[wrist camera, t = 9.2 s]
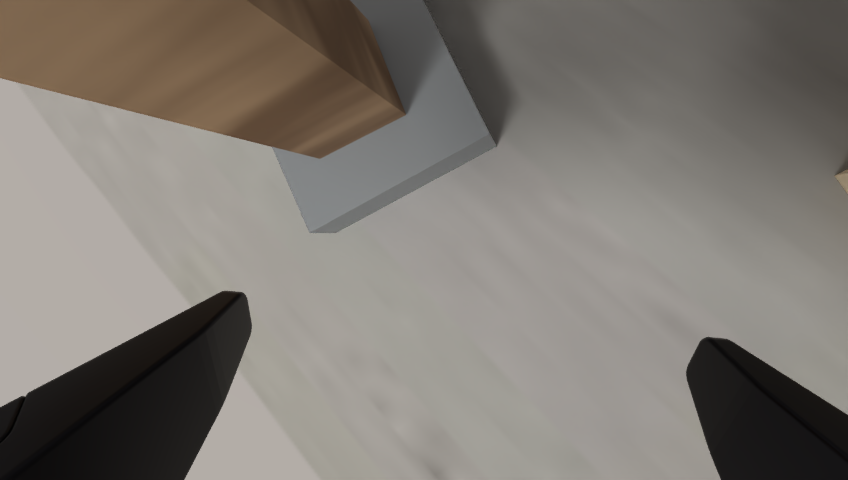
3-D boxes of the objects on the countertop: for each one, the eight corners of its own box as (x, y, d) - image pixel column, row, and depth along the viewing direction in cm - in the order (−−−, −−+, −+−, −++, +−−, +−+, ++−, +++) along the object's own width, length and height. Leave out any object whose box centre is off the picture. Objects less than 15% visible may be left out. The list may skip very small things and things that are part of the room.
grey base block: (497, 148, 20) (489, 133, 17) (340, 232, 22) (309, 232, 20) (416, -14, 21) (396, -53, 18) (273, 83, 23) (234, 62, 20)
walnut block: (406, 114, 18) (92, -111, 6) (319, 158, 19) (-97, 53, 7) (368, 20, 18) (-13, -396, 6) (285, 69, 20) (-177, -190, 7)
